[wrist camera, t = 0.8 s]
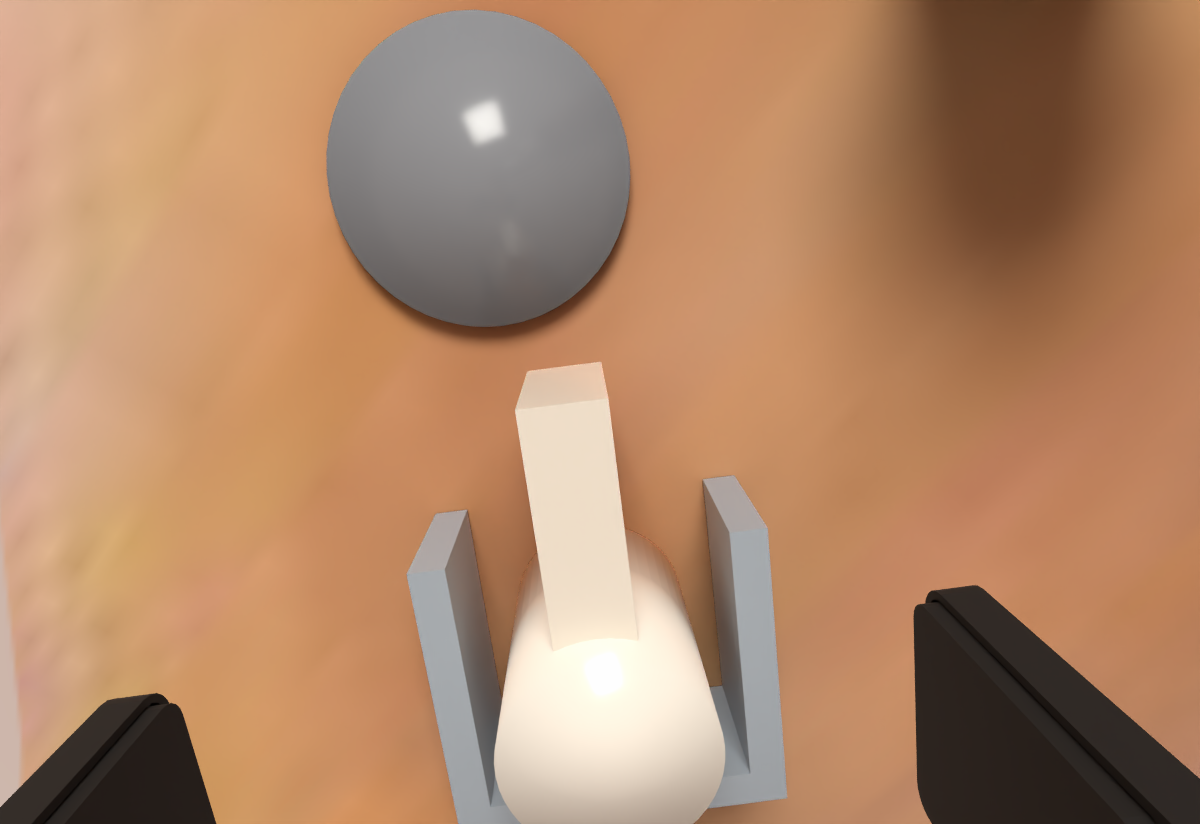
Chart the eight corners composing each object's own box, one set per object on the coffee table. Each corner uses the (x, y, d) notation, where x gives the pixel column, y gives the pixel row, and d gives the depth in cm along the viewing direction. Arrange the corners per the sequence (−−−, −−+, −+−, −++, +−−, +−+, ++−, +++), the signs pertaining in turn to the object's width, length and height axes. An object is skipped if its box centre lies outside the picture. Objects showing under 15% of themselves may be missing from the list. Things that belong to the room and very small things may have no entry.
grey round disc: (610, -4, 24) (611, -10, 23) (644, 305, 26) (645, 307, 26) (302, 35, 24) (295, 30, 23) (365, 341, 26) (360, 344, 26)
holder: (734, 475, 28) (767, 527, 23) (753, 707, 30) (787, 798, 26) (435, 513, 28) (406, 574, 23) (479, 742, 30) (461, 840, 26)
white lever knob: (687, 661, 30) (734, 841, 21) (531, 681, 30) (512, 869, 21) (653, 340, 27) (691, 397, 18) (477, 363, 27) (430, 430, 18)
